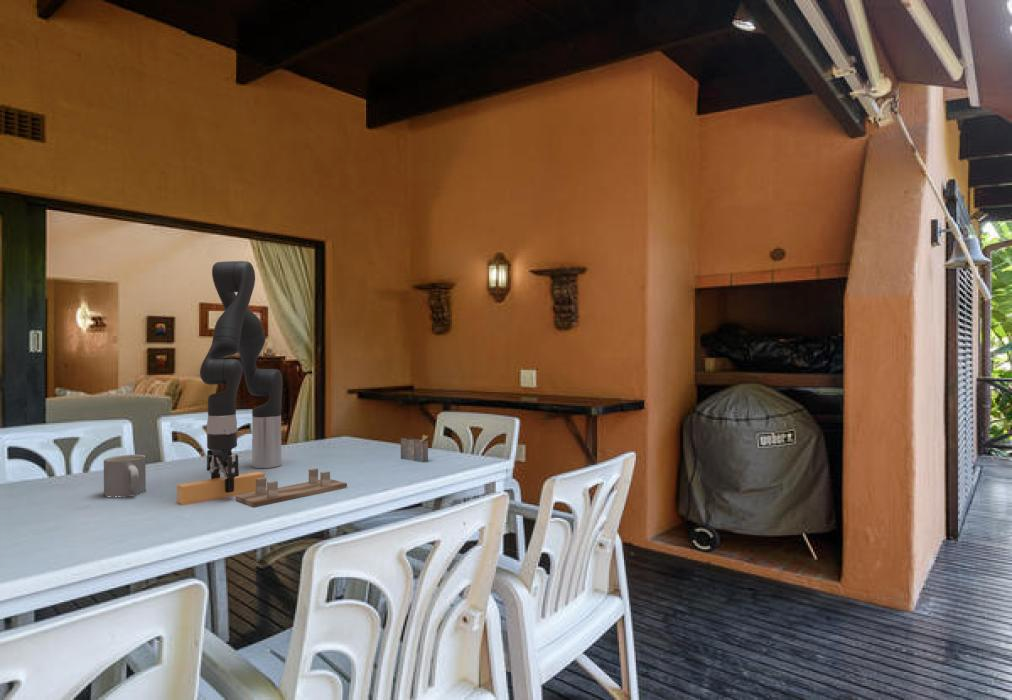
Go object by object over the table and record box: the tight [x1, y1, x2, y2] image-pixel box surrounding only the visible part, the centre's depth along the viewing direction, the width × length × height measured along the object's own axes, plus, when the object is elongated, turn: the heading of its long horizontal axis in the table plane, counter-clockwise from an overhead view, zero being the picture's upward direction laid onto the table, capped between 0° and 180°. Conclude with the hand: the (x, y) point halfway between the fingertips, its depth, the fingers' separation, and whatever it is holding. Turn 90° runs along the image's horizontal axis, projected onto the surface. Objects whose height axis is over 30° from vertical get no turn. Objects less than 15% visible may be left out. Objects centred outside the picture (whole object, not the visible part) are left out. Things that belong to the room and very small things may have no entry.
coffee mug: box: [103, 454, 147, 497], centre depth 168 cm, size 13×10×10 cm
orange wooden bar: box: [176, 471, 266, 506], centre depth 167 cm, size 4×22×5 cm, turn 136°
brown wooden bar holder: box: [235, 468, 348, 508], centre depth 169 cm, size 10×28×5 cm, turn 139°
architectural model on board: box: [400, 434, 429, 463], centre depth 218 cm, size 11×3×10 cm, turn 53°
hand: (222, 489), depth 167 cm, fingers open, 8 cm apart
